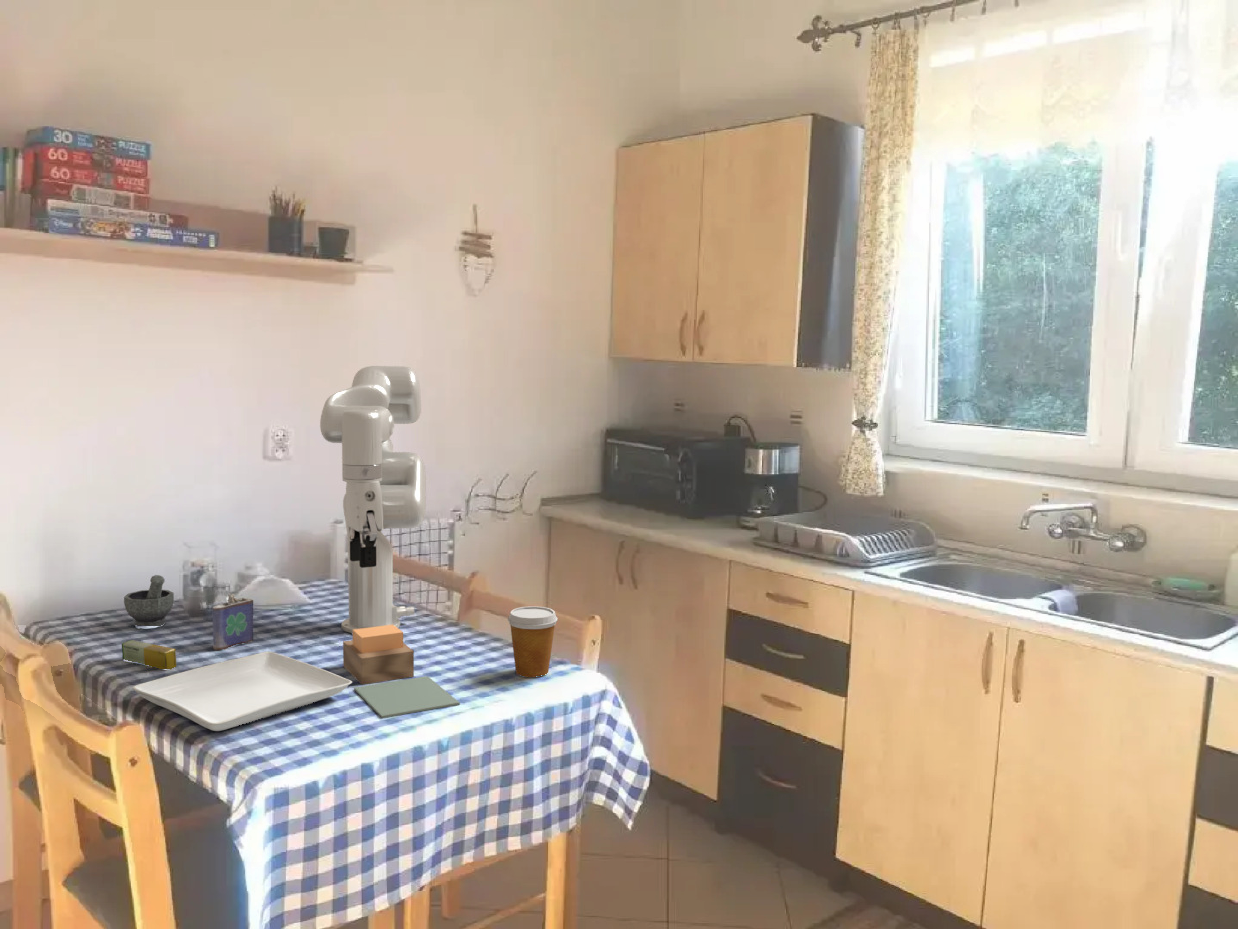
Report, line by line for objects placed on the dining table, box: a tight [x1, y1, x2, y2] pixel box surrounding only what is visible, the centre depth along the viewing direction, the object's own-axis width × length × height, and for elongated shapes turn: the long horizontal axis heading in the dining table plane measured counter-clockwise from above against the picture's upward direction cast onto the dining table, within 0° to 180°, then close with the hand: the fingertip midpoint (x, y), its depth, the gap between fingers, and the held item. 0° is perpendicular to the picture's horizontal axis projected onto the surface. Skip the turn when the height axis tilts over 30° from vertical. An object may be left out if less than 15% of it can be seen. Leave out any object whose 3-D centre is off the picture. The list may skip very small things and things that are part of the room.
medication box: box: [121, 639, 177, 670], centre depth 200 cm, size 12×3×4 cm, turn 66°
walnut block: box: [342, 639, 415, 686], centre depth 198 cm, size 10×12×5 cm
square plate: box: [131, 650, 353, 732], centre depth 182 cm, size 27×27×4 cm
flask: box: [211, 593, 254, 651], centre depth 213 cm, size 9×3×11 cm, turn 146°
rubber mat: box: [353, 675, 461, 719], centre depth 185 cm, size 14×16×1 cm
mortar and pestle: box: [123, 574, 175, 626], centre depth 225 cm, size 11×9×12 cm
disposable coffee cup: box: [507, 605, 558, 678], centre depth 199 cm, size 10×10×12 cm
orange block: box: [352, 625, 404, 653], centre depth 198 cm, size 8×6×3 cm
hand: (363, 562), depth 204 cm, fingers open, 5 cm apart
